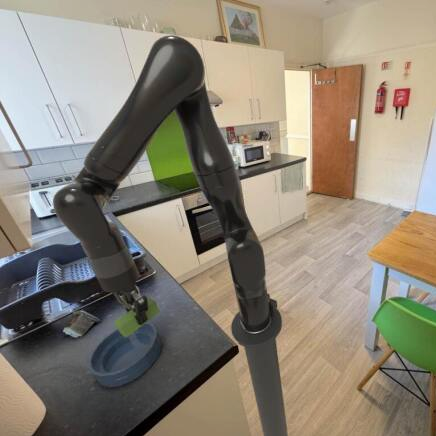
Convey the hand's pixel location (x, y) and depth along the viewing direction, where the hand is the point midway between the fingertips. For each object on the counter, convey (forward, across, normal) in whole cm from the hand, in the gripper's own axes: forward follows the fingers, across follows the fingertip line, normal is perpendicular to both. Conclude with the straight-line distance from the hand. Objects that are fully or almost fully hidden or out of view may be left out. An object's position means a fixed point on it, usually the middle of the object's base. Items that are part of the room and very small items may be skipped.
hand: (139, 319), depth 62 cm
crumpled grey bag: (+16, +34, +7) cm, 38 cm away
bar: (+1, 0, 0) cm, 1 cm away
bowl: (+16, +6, +4) cm, 17 cm away
